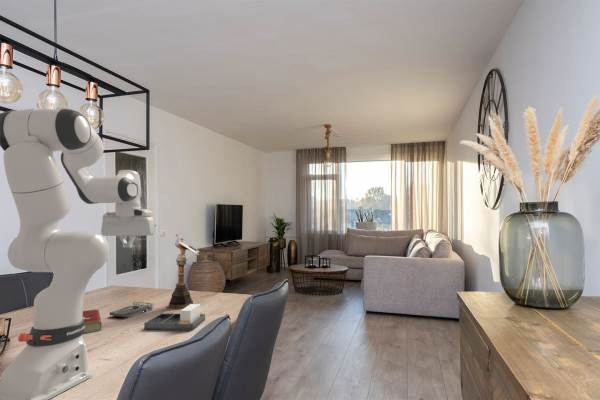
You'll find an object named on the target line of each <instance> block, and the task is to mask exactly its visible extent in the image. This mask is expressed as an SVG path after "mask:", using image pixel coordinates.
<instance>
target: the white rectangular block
mask: <svg viewBox="0 0 600 400" xmlns="http://www.w3.org/2000/svg"><path fill="white" fill-rule="evenodd" d="M200 312H201V304H200V303H193V304H190V305H188V306H187V307H185V308H181V310H180V311H179V314H180V321H184V322H190V323H193V322H194V321H195V320H197V319H198V318H199V317H200Z"/></svg>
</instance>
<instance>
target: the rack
mask: <svg viewBox="0 0 600 400" xmlns="http://www.w3.org/2000/svg"><path fill="white" fill-rule="evenodd" d="M205 321H206V314H205V313H203V312H201V311H200V317H199V318H198V319H197V320H195V321H194V322H193V323H190V322H184V321H180V313H167V312H166V313H159V314H158V315H156V316H154V317H152V318H151V319H149V320H148V321H146V322H144V329H143V330H147V331H148V330H149V331H151V330H152V331H184V332H186V331H189V332H190V331H194V330H195V329H196V328H198V327H199V326H200V325H201V324H203V322H205Z"/></svg>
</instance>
